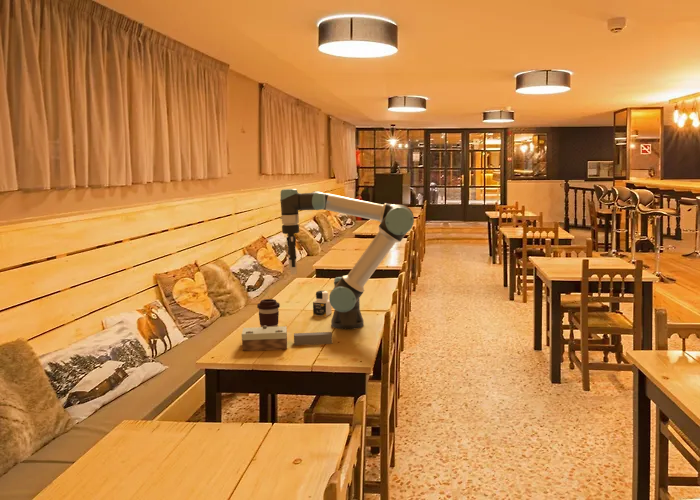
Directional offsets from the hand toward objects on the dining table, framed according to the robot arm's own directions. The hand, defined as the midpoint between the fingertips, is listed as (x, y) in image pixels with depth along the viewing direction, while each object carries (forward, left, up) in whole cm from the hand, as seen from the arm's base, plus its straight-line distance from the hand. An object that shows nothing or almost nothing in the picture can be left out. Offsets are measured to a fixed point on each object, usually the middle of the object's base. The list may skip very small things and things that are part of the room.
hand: (292, 271), depth 285 cm
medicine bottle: (-14, -32, -28) cm, 45 cm away
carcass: (+12, +20, -28) cm, 36 cm away
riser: (-8, +18, -28) cm, 34 cm away
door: (+12, +22, -23) cm, 34 cm away
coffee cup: (+11, -1, -28) cm, 30 cm away
